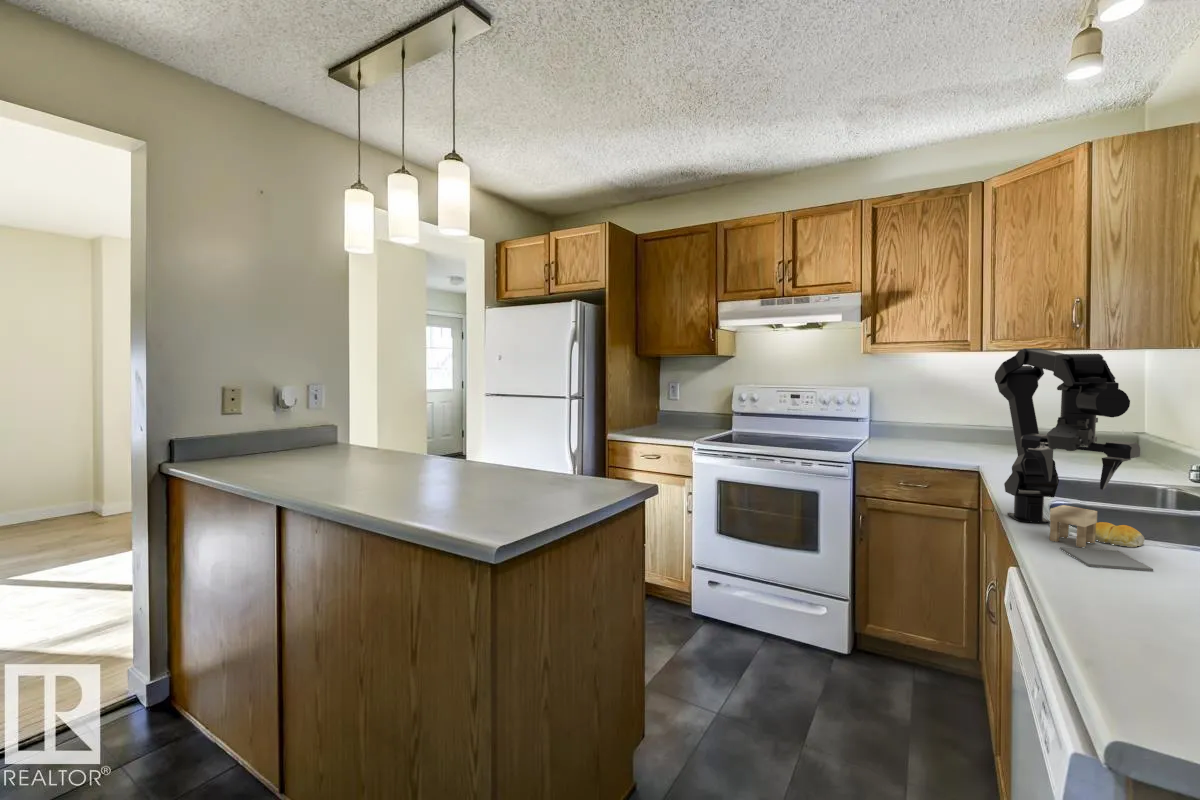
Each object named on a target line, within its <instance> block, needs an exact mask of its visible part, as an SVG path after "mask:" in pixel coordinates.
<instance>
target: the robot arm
mask: <svg viewBox="0 0 1200 800" xmlns="http://www.w3.org/2000/svg"><path fill="white" fill-rule="evenodd" d="M1045 370H1046V371H1051V372H1052V373H1053V374H1052V375H1053V376H1054V377H1056V378H1057V379H1059V380H1060V381H1062V383H1060V384H1059V385H1057V387H1056V390H1057V391H1061V396H1060V397H1061V399H1060V401H1061V402H1060V416H1058V417H1057V421H1056V423H1057V424H1056V425H1055V427H1052V428H1051V429H1050V430H1049V431H1048V432H1047V433H1046V434H1043V433H1042V434H1041V433H1040V431H1039V427H1038V422H1037V416H1036V410H1035V405H1034V401H1033V396H1034V395H1035V393H1036V391H1037V389H1038V387H1039V381H1040V379H1041V378H1042V377H1043V376H1044V375H1045V372H1044V371H1045ZM994 382H995V383H996V385H997V389H998V392H999V394H1001V395H1002V397H1003V398H1005V399H1006V400H1007V401H1008V407H1009V411H1010V413H1009V414H1010V417H1011V425H1012V430H1013V434H1014V435H1013V436H1014V439H1015V440H1014V441H1015V447H1016V454H1017V456H1016V459H1015V461H1014V462H1013V464H1012V466H1011V474H1010V475H1009V477H1007V479H1006V481H1005V482H1004V484H1003V485H1004V492H1005V493H1008V494H1009V495H1011V496H1013V497H1014V498H1013V500H1014V501H1013V512H1007V516H1009V517H1011V518H1012V519H1014V520H1016V521H1017V522H1020V523H1021V522H1023V523H1034V524H1035V523H1036V524H1037V523H1038V524H1039V523H1040V524H1050V521H1051V520H1048V519H1046V518H1044V509H1045V508H1044V506H1045V505H1044V504H1045V503H1044V501H1045V498H1046V497H1047V498H1055V497H1056V493H1057V489H1058V486H1059V482H1060V479H1059V474H1058V472H1057V471H1058V470H1057V467H1056V462H1055V460H1054V450H1066V451H1069V452H1076V451H1078V450H1080V451H1087V452H1097V453H1098V452H1099V453H1103V454H1104V455H1106V456H1104V457H1101V463H1102V468H1101V475H1100V481H1099V489H1100V490H1102V491H1103V490H1106V488H1107V486H1108V485H1109V482H1110V481H1111V480H1112V477H1113V476H1114V474H1115V472H1116V471H1117V470H1118V469H1119V468H1120V467H1121V465H1122V464H1123V463H1124V462H1127V461H1131V460H1132V459H1135V458H1139V457H1141V446H1140V445H1139V443H1137V442H1132V441H1123V440H1113V441H1108V442H1105V443H1103V442H1101V443H1100V442H1098V437H1097V436H1096V430H1097V429H1096V428H1097V427H1096V425H1097V423H1099V417H1104V418H1117V417H1120V416H1122V415H1124V414H1125V413H1127V412H1128V410H1129V408H1130V406H1131V400H1130V398H1129V396H1128V394H1127V393H1126V392H1125V391H1124V390H1122V389H1120V388H1119V385H1120V384H1119V382H1116V377H1115V376H1114V374H1113V373H1112V371H1111V369H1110V368H1109V365H1108V363H1107V361H1106V359H1104V356H1103V355H1102V354H1100V353H1063V352H1056V351H1051V350H1047V349H1044V348H1042V347H1041V348H1040V347H1038V348H1035V347H1033V348H1032V347H1031V348H1030V347H1029V348H1022V349H1019V350H1018V351H1017V352H1016V353H1015V355H1014V356H1012V357H1010V358H1008V359H1006V360H1005V361H1003V362H1002V363H1001V364H1000V366H999V367H998V369H997V370H996V372H995V373H994ZM1097 416H1099V417H1097Z"/></svg>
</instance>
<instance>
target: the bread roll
mask: <svg viewBox="0 0 1200 800" xmlns="http://www.w3.org/2000/svg"><path fill="white" fill-rule="evenodd" d="M1095 540H1098V541H1100V542H1099V543H1101V542H1105V543H1104V544H1109V543H1110V544H1109V545H1111V544H1114V545H1120V546H1119V547H1121V546H1127V547H1126V548H1138V547H1137V546H1139V547H1141V546H1142V545H1144V543H1145V536H1144V535H1143V534H1142V533H1141V532H1140V531H1138V530H1137V529H1136V528H1134V527H1133V526H1129V525H1126V524H1121V525H1115V524H1113V523H1111V522H1110V523H1109V522H1106V521H1104V522H1103V521H1099V522H1098V521H1097V523H1096V532H1095ZM1114 545H1113V546H1114Z"/></svg>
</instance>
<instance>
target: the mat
mask: <svg viewBox="0 0 1200 800" xmlns="http://www.w3.org/2000/svg"><path fill="white" fill-rule="evenodd" d="M1060 549H1061V550H1060ZM1059 550H1060V551H1062V550H1063V551H1062V552H1064V551H1065V552H1066V553H1065V552H1064V553H1065V554H1067V553H1068V554H1067V555H1069V554H1070V555H1071V556H1070V555H1069V556H1070V557H1072V556H1073V557H1075V558H1077V559H1078V560H1080V561H1081V562H1080V561H1079V562H1080V563H1082V564H1083V563H1084V564H1083V565H1085V564H1086V565H1085V566H1087V567H1088V566H1091V567H1090V568H1100V567H1103V569H1104V568H1105V569H1114V570H1115V569H1116V570H1129V571H1141V570H1142V571H1143V572H1154V568H1153V567H1151V566H1150V565H1147V564H1145V563H1143V562H1141V561H1139V560H1137V559H1135V558H1133V557H1131V556H1129V555H1128V554H1125V553H1124V552H1121V551H1120V550H1115V549H1114V550H1112V549H1111V550H1110V549H1098V548H1086V547H1085V548H1081V547H1068V546H1065V547H1064V546H1059ZM1073 557H1072V558H1073ZM1075 558H1074V559H1075ZM1077 559H1076V560H1077ZM1078 560H1077V561H1078Z"/></svg>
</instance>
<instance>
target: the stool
mask: <svg viewBox="0 0 1200 800" xmlns="http://www.w3.org/2000/svg"><path fill="white" fill-rule="evenodd" d="M1049 510H1050V511H1049V521H1050V523H1049V524H1050V525H1049V542H1050V541H1052V542H1054V541H1055V543H1057V542H1059V540H1060V538H1062V537H1064V538H1063V539H1068V538H1069V533H1070V532H1069V527H1070V525H1073V526H1076V539H1075V541H1076V543H1075V547H1076V546H1079V547H1078V548H1081V547H1085V546H1087V545H1086V544H1087V543H1086V542H1090V543H1094V544H1096V541H1095V532H1096V523H1097V522H1098V510H1094V509H1093V510H1092V509H1086V508H1081V507H1076V506H1071V505H1065V504H1062V505H1058V506H1055V507H1051V508H1049ZM1067 537H1068V538H1067ZM1085 548H1086V547H1085Z"/></svg>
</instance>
